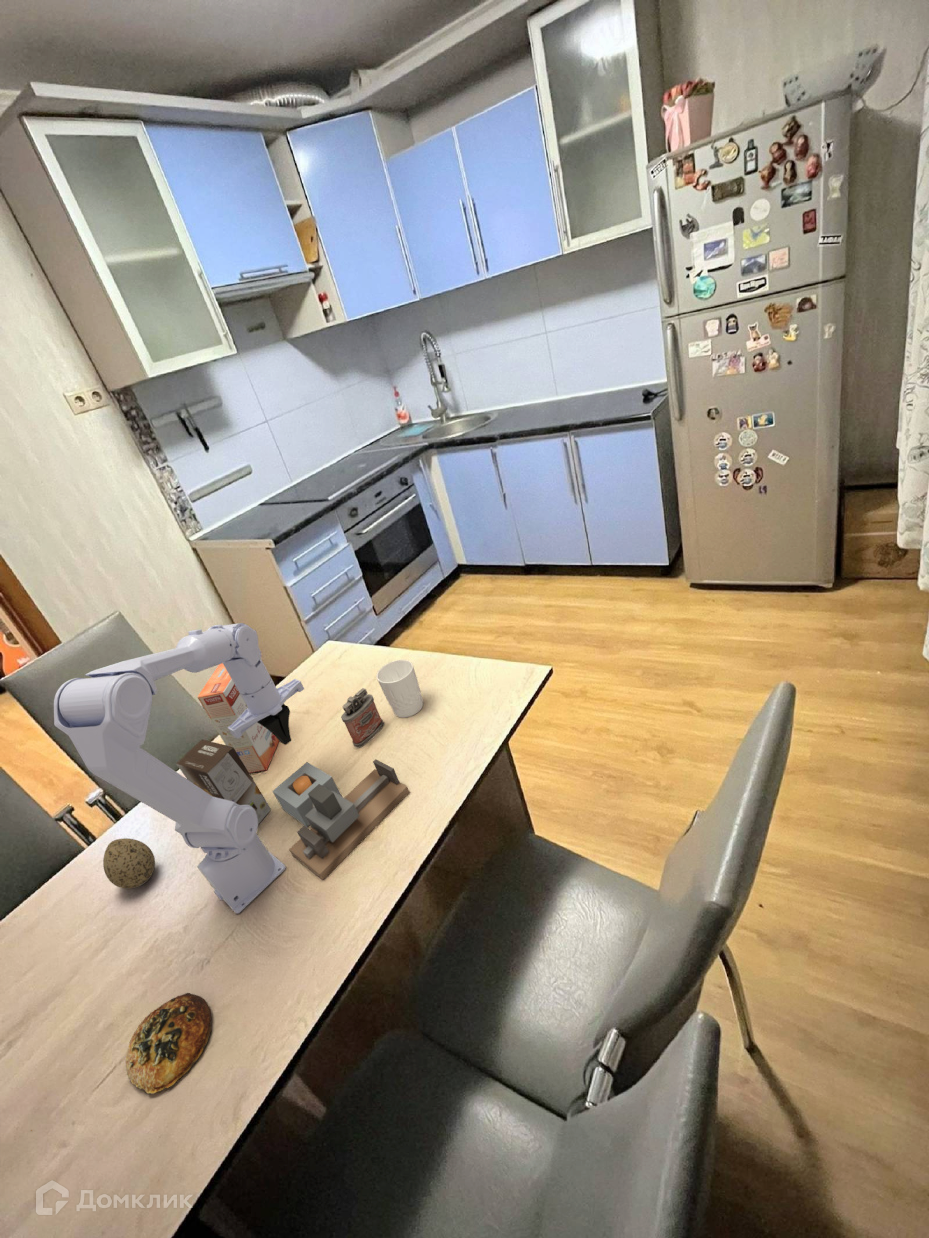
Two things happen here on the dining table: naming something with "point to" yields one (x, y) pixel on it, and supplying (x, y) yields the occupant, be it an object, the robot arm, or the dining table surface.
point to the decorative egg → (128, 863)
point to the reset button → (301, 784)
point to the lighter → (361, 718)
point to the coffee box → (222, 775)
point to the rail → (372, 805)
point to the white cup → (400, 687)
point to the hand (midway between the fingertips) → (285, 741)
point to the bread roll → (168, 1042)
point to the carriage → (330, 813)
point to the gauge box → (303, 803)
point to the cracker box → (225, 710)
